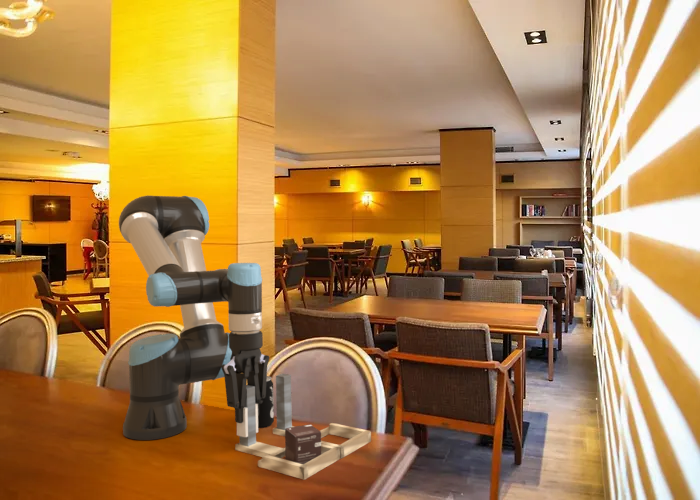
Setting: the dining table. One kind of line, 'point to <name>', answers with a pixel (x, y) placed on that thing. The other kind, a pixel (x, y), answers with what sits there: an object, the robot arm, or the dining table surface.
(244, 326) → the robot arm
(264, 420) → the beverage can
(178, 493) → the dining table surface
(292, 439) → the box
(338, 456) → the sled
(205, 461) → the dining table surface
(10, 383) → the dining table surface
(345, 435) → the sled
